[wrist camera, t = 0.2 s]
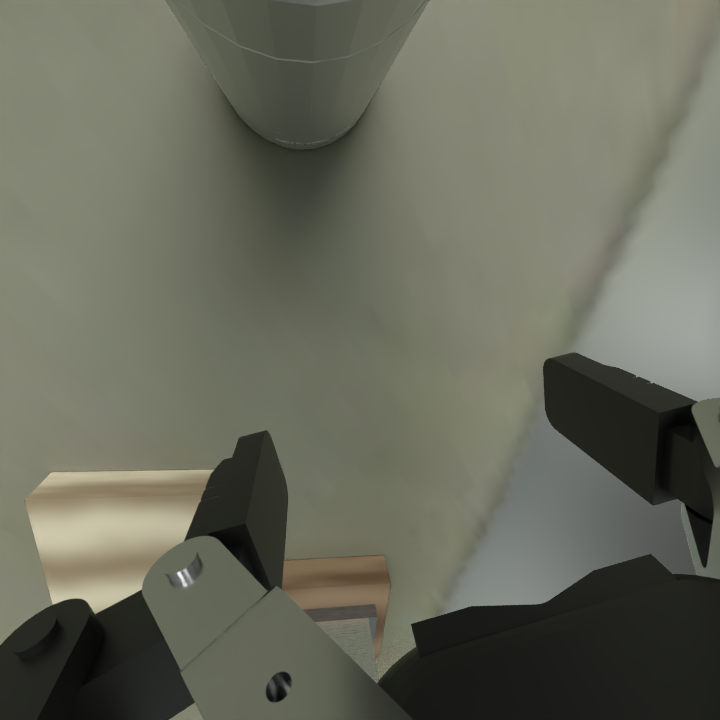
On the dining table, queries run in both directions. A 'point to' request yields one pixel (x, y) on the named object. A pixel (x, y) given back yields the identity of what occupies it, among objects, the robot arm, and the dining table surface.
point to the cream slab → (109, 528)
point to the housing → (351, 632)
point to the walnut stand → (340, 585)
